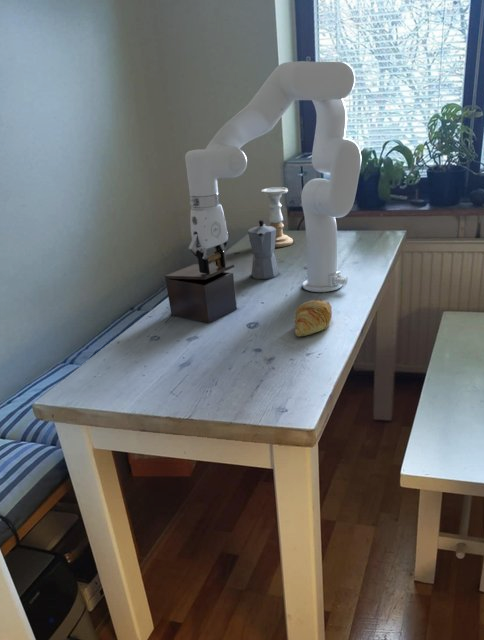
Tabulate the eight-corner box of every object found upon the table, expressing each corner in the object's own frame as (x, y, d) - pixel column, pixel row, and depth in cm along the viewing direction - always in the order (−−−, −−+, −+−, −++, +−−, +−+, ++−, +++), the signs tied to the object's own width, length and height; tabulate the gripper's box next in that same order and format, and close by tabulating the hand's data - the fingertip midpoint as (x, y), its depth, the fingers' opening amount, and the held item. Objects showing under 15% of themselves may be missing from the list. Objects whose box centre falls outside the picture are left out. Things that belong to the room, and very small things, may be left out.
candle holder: (264, 240, 247) (260, 187, 236) (294, 239, 245) (292, 185, 234) (260, 248, 237) (255, 193, 226) (291, 247, 235) (288, 191, 224)
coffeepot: (277, 280, 201) (274, 224, 191) (249, 281, 202) (244, 225, 192) (280, 266, 214) (277, 213, 204) (253, 268, 214) (249, 215, 205)
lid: (234, 267, 173) (231, 249, 170) (205, 279, 164) (201, 261, 162) (194, 266, 182) (191, 249, 179) (165, 278, 174) (161, 260, 171)
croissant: (309, 353, 157) (321, 329, 152) (276, 333, 158) (288, 308, 153) (335, 322, 173) (348, 299, 168) (306, 304, 174) (317, 281, 169)
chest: (236, 309, 180) (233, 272, 174) (209, 323, 172) (204, 285, 166) (199, 301, 188) (194, 266, 182) (171, 314, 179) (165, 278, 174)
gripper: (193, 209, 152) (202, 279, 162) (236, 196, 164) (242, 263, 173) (171, 207, 156) (181, 276, 166) (215, 194, 168) (222, 260, 177)
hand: (212, 268), depth 169 cm, fingers closed on lid, 6 cm apart
